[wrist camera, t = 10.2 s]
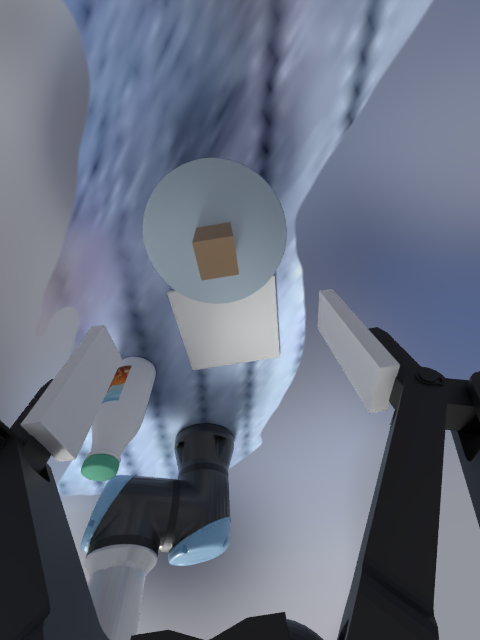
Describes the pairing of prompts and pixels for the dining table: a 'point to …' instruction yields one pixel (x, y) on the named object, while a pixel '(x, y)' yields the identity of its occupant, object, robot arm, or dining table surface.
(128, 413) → the milk bottle
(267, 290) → the mat
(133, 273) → the dining table surface
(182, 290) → the lid
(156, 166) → the dining table surface
